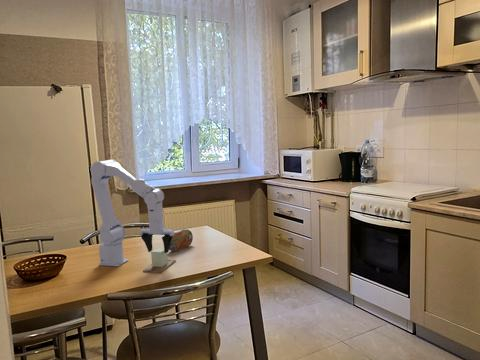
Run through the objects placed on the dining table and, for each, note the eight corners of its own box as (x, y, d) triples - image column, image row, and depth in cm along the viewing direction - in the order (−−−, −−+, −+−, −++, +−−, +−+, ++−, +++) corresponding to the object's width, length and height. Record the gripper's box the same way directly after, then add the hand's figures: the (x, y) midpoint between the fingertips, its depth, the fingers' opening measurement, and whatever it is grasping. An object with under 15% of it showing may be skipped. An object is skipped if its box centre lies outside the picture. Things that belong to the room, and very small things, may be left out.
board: (143, 273, 153) (142, 270, 153) (159, 262, 165) (158, 258, 165) (161, 275, 151) (160, 271, 150) (175, 263, 163) (175, 259, 163)
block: (152, 266, 156) (150, 251, 155) (157, 262, 161) (156, 248, 160) (162, 267, 155) (161, 252, 154) (167, 263, 159) (166, 248, 158)
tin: (170, 253, 173) (169, 235, 172) (165, 252, 175) (164, 234, 174) (193, 244, 185) (192, 227, 184) (189, 243, 187) (187, 227, 186)
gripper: (176, 217, 156) (178, 249, 158) (145, 216, 161) (148, 247, 163) (168, 221, 150) (170, 255, 152) (136, 220, 154) (138, 253, 156)
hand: (158, 251), depth 157 cm, fingers open, 7 cm apart
